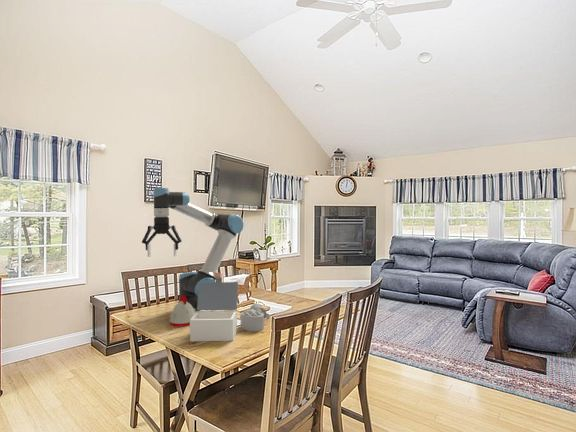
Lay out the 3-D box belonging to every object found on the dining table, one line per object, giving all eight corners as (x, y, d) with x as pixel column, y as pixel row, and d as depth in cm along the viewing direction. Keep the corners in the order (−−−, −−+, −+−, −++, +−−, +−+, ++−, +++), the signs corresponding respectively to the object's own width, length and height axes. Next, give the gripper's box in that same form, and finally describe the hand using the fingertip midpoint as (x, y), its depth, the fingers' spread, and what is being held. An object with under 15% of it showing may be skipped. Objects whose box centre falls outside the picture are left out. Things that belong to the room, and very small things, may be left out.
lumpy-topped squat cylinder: (254, 322, 188) (254, 306, 188) (268, 328, 178) (268, 311, 178) (238, 326, 181) (237, 310, 181) (252, 333, 171) (252, 315, 171)
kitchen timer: (175, 328, 179) (175, 299, 179) (166, 322, 190) (165, 295, 190) (200, 322, 188) (200, 295, 188) (190, 317, 199) (189, 291, 198)
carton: (197, 330, 175) (197, 311, 175) (237, 330, 176) (236, 310, 175) (190, 341, 161) (189, 320, 161) (233, 340, 162) (232, 319, 161)
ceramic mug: (255, 322, 188) (255, 307, 188) (249, 318, 195) (249, 304, 195) (272, 319, 194) (272, 305, 194) (266, 315, 201) (266, 302, 201)
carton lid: (194, 308, 170) (197, 310, 175) (235, 308, 171) (236, 309, 176) (197, 272, 178) (200, 275, 183) (236, 272, 178) (238, 275, 183)
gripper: (134, 217, 181) (135, 257, 181) (183, 216, 183) (184, 256, 183) (139, 216, 188) (140, 255, 189) (186, 216, 190) (187, 254, 190)
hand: (162, 256), depth 186 cm, fingers open, 13 cm apart
